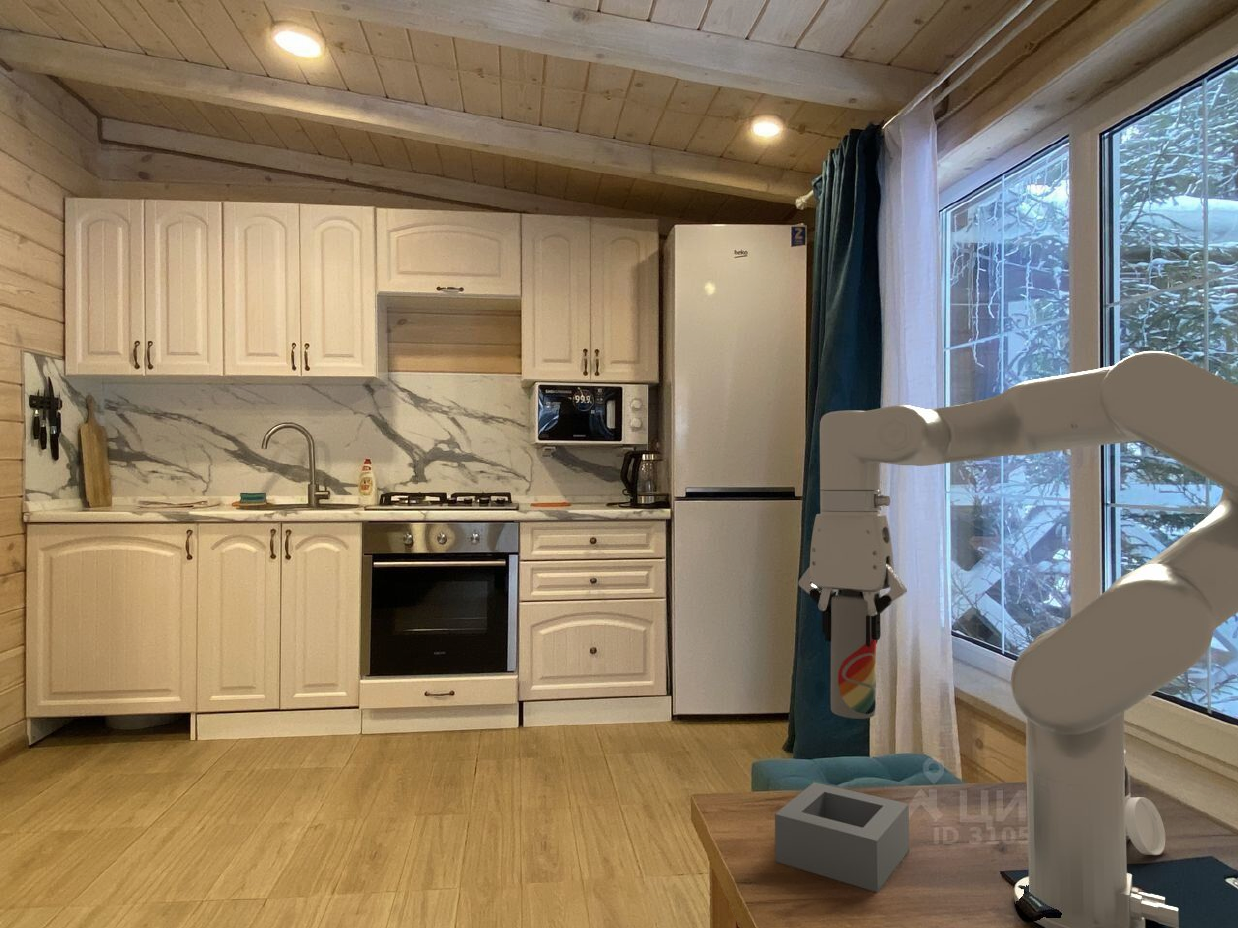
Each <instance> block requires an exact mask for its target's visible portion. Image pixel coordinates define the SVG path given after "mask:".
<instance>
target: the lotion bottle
mask: <svg viewBox="0 0 1238 928" xmlns="http://www.w3.org/2000/svg"><path fill="white" fill-rule="evenodd" d="M875 601H876V600H875ZM866 616H870V615H869V614H868V603H867V601H865V600H864V596H863V592H860V591H855V590H851V589H843V590H838V594H837V595H836V596H833V597H832V600H831V641H830V710H831V712H832V713H833V714H834V715H836V716H839V717H843V718H847V719H856V720H857V719H858V720H861V719H862V720H864V719H870V718H872V717H874V716H875V714H876V707H877V706H876V705H877V704H876V702H877V644H876V640H873V639H872V637H871V616H870V646H871V647H868V646H866Z"/></svg>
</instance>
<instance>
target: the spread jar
mask: <svg viewBox="0 0 1238 928" xmlns="http://www.w3.org/2000/svg"><path fill="white" fill-rule="evenodd" d="M1126 758H1127V751H1126V749H1124V762H1125V781H1124V783H1125V824H1126V842H1129V840H1130V842H1131V843H1132V844H1133V846H1134V847H1135V849H1136V850H1137V851H1139V852H1140V853H1141V854H1143V855H1146V856H1147V855H1148V856H1159V855H1161V854H1162V853H1163V851H1164V850H1165V848H1166V847H1165V846H1166V832H1165V825H1164V822H1163V820H1162V817H1161V815H1160V813H1159V810H1158V809H1157V807H1156V806H1155V804H1154V803H1153V802H1152V801H1151V800H1150V799H1149V798H1146V797H1144V796H1143V797H1138V796H1137V797H1131V777H1130V774H1129V770H1128V767H1127V765H1126V762H1127V759H1126Z"/></svg>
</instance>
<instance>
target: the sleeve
mask: <svg viewBox="0 0 1238 928" xmlns="http://www.w3.org/2000/svg"><path fill="white" fill-rule="evenodd" d="M909 805H910V804H909V803H906V802H902V801H899V800H893V799H889V798H886V797H880V796H876V795H873V794H872V795H871V794H868V793H864V792H858V791H854V790H851V789H845V788H841V787H837V786H832V785H828V784H824V783H820V782H815V781H814V782H812V783H811V784H809V785H808V786H807V787H806V788H805V789H804V790H802V792H800V793H799V794H797V795H796V796H795V797H794V798H792V799H791V800H790V801H789V802H787V803H786V804H785V805H784V806H783V807H781V808H780V809H779V810H778V811H776V813H774V842H775V843H774V848H775V850H774V852H775V860H774V861H775V862H776V863H778V864H783V865H786V866H789V867H792V868H795V869H799V870H802V871H806V872H810V873H812V874H815V875H818V876H822V877H825V878H829V879H832V880H835V881H838V882H842V883H845V884H849V885H850V886H855V887H858V888H862V889H864V890H867V891H872V892H874V893H879V891H881V889H882V887H883V886H884V884H885V883H886V882H887V880H889V878H890V877H891V876H892V874H893V873H894V871H895V870H896V869H897V868H898V866H899V865H900V863H901V862H902V861H903V859H905V856H906V855H907V854H908V853H909V851H910V814H909V813H910V808H909V807H910V806H909Z"/></svg>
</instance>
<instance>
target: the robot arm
mask: <svg viewBox="0 0 1238 928" xmlns="http://www.w3.org/2000/svg"><path fill="white" fill-rule="evenodd" d="M1139 441H1142V442H1144V443H1145V444H1147V445H1149V446H1151V447H1152V448H1154V449H1155V450H1157V451H1159V452H1161V453H1163V454H1164V455H1165V456H1168V458H1169V457H1170V458H1171V459H1173V460H1175V461H1177V462H1178V463H1180V464H1182V465H1183V466H1184V467H1185V466H1186V467H1187V468H1189V469H1190V470H1192V471H1194V472H1195V473H1198V474H1199V475H1201V476H1203V477H1204V478H1206V479H1208V480H1210V481H1211V482H1213V483H1215V484H1216V485H1218V486H1219V487H1221V488H1222V493H1221V497H1220V500H1219V501H1218V503H1217V505H1216V507H1214V509H1213V511H1212V512H1211V513H1210V514H1209V515H1207V516H1206V517H1205V518H1204V519H1202V520H1201V521H1200V522H1198V523H1197V524H1196V525H1194V526H1193V527H1192V528H1191V529H1190V530H1188V531H1187V532H1185V534H1184V535H1182V536H1181V537H1180V538H1179V539H1178V540H1176V541H1174V543H1172V544H1171V545H1169V546H1168V547H1166V548H1165V549H1164V550H1163V551H1161V552H1160V553H1158V554H1157V555H1156V556H1154V557H1152V558H1151V559H1150V560H1148V561H1147V562H1145V563H1144V564H1142V565H1141V566H1138V568H1136V569H1134V570H1131V571H1130V572H1128V573H1125V574H1124V575H1122V576H1120V577H1119V578H1118V579H1116V580H1115V581H1114V582H1113V583H1112V584H1111V585H1110V587H1109V588H1108V589H1106V590H1105V591H1104V592H1102V594H1100V595H1099V596H1097V597H1096V598H1095V599H1094V600H1092V601H1091V602H1089V603H1088V604H1087V605H1086V606H1084V607H1083V608H1082V609H1081V610H1079V611H1077V612H1076V613H1075V614H1073V615H1072V616H1071V617H1069V618H1068V619H1067V620H1065V621H1064V622H1062V624H1060V625H1058V626H1056V627H1053V628H1049V629H1048V630H1046V631H1044V632H1042V633H1040V634H1039V635H1037V636H1036V637H1035V638H1034V639H1033V640H1032V641H1031V642H1030V643H1028V645H1027V647H1026V648H1025V649H1024V650H1022V652H1021V653H1020V654H1019V656H1018V657H1017V659H1016V660H1015V663H1014V664H1013V667H1012V670H1011V676H1010V687H1011V689H1010V690H1011V692H1012V694H1011V695H1012V696H1013V699H1014V701H1015V704H1016V705H1017V707H1018V709H1019V710H1020V712H1021V713H1022V714H1023V715H1024V717H1026V722H1025V723H1026V730H1025V739H1026V743H1025V747H1026V749H1025V752H1026V764H1025V765H1026V808H1027V809H1026V810H1027V852H1028V853H1027V854H1028V855H1027V856H1028V876H1026V877H1023V878H1022V879H1020V880H1018V881H1017V882H1016V883H1015V885H1014V888H1013V899H1014V902H1015V903H1016V901H1019V899H1020V898H1021V897H1022V896H1023V894H1024V889H1021V888H1020V887H1021V886H1025V887H1026V885H1027V886H1028V885H1029V892H1030V893H1031V894H1032V895H1033V896H1034V897H1036V898H1038V899H1039V900H1041V901H1042V902H1043V903H1045V904H1046V905H1048V906H1050V907H1052V908H1054V909H1057V910H1059V911H1060V912H1061V913H1062V915H1061V918H1046V917H1043V918H1041V919H1040V920H1037V921H1034V923H1037V924H1038V925H1040V926H1042V927H1044V928H1146V920H1149V921H1152V922H1153V921H1154V922H1156V923H1158V924H1160V925H1165V926H1168V927H1170V928H1171V927H1172V928H1180V927H1179V923H1180V922H1179V921H1180V920H1179V908H1178V907H1176V906H1171V905H1168V904H1166V896H1163V895H1158V894H1155V893H1148V892H1145V891H1144V892H1143V891H1140V890H1139V887H1135V886H1133V874H1131V873H1128V870H1127V869H1128V868H1127V841H1126V824H1125V783H1124V781H1125V765H1126V763H1125V762H1124V750H1125V712H1126V711H1128V710H1129V709H1131V708H1133V707H1134V706H1135V705H1137V704H1139V703H1140V702H1142V701H1144V700H1145V699H1146V698H1147V697H1149V696H1151V695H1152V694H1154V693H1155V692H1157V691H1158V690H1160V689H1161V688H1163V687H1164V686H1166V685H1167V684H1169V683H1171V682H1172V681H1173V680H1175V679H1177V678H1178V677H1180V676H1182V675H1183V674H1184V673H1185V672H1186V671H1188V670H1189V669H1190V668H1192V667H1194V665H1195V664H1196V663H1197V662H1198V661H1199V660H1200V659H1201V658H1202V657H1203V656H1204V655H1205V654H1206V652H1207V651H1208V649H1209V648H1210V645H1211V643H1212V641H1213V636H1214V631H1215V630H1216V629H1217V628H1218V627H1220V626H1221V625H1223V624H1224V623H1225V622H1226V621H1228V620H1229V619H1231V618H1232V617H1233V616H1235V615H1237V614H1238V385H1236V384H1234V383H1233V382H1231V381H1228V380H1226V379H1224V378H1222V377H1220V376H1218V375H1217V374H1215V373H1212V372H1211V371H1208V370H1206V369H1205V368H1203V367H1201V366H1200V365H1198V364H1197V363H1196V364H1195V363H1194V362H1191V361H1190V360H1187V359H1185V358H1184V357H1182V356H1179V355H1177V354H1174V353H1170V352H1166V351H1159V350H1158V351H1155V350H1148V351H1141V352H1138V353H1134V354H1131V355H1130V356H1127V357H1124V358H1122V360H1120V361H1119V362H1117V363H1116V364H1115V365H1112V366H1108V367H1107V366H1106V367H1101V368H1100V367H1099V368H1097V369H1091V370H1086V371H1079V372H1075V373H1068V374H1061V375H1058V376H1057V375H1055V376H1050V377H1043V378H1038V379H1031V380H1026V381H1023V382H1019V383H1018V384H1015V385H1013V386H1011V387H1009V388H1008V389H1007V390H1004V391H1003V392H1001V393H999V394H998V395H997V394H996V395H995V396H992V397H989V398H985V399H981V400H977V401H973V402H968V403H963V404H956V405H949V406H944V407H939V408H938V407H937V408H931V409H925V408H922V407H916V406H912V405H909V404H897V405H896V404H895V405H890V406H886V407H881V408H875V409H870V410H869V409H868V410H858V409H857V410H855V409H854V410H852V409H851V410H849V409H847V410H837V411H835V410H834V411H830V412H827V413H825V414H823V416H821V419H820V422H819V476H820V477H819V478H820V479H819V490H820V491H819V493H820V494H819V497H820V500H819V501H820V503H819V504H820V508H819V509H820V513H817V514H816V515H815V518H814V523H813V528H812V535H811V543H810V557H809V559H810V560H809V567H808V568H807V569H806V570H805V572H804V573H803V574H802V576H801V577H800V579H799V580H798V582H797V584H798V586H799V587H800V588H801V589H802V590H803V591H805V592H806V593H807V594H809V597H810V598H811V599H812V600H813V601H814V603H816V604H817V606H818V609H819V611H821V615H822V616H821V618H822V619H821V621H822V623H821V624H822V625H821V626H822V627H821V628H822V633H823V634H824V641H825V642H829V643H831V600H832V597H833V596H836V595H839V590H843V589H851V590H855V591H860V592H863V596H864V600H865V601H867V603H868V614H869V615H870V616H871V637H872V639H873V640H876V645H877V643H878V641H879V640H880V639H881V637H882V636H881V635H882V634H881V629H882V627H881V614H882V613H884V611H885V610H886V609H887V608H888V607H889V606H890V605H891V604H892V603H893V602H895V601H897V600H899V599H900V598H901V597H903V596H905V594H907V592H908V590H907V587H906V586H905V585H904V583H903V582H902V581H901V580H900V578H899V576H898V575H897V573H896V572H895V567H894V566H895V565H894V554H893V547H892V537H891V532H890V531H891V530H890V526H889V521H888V517H887V514H880V511H882V508H883V507H889V506H890V505H891V498H890V496H889V495H884V494H882V491H881V490H880V463H881V464H888V465H889V464H890V465H898V466H915V467H919V466H920V467H927V466H934V465H935V466H937V465H943V464H952V463H957V462H958V463H959V462H967V461H968V462H969V461H974V460H981V459H982V460H983V459H991V458H997V457H1005V456H1009V457H1010V456H1020V457H1021V456H1029V455H1035V454H1041V453H1051V452H1059V451H1065V450H1074V449H1081V448H1082V449H1083V448H1089V447H1096V446H1104V445H1105V446H1106V445H1107V446H1108V445H1115V444H1125V443H1131V442H1139ZM885 589H890V590H889V591H887V593H885V594H883V595H881V590H885ZM875 600H876V601H875ZM870 616H866V646H868V647H871V646H870Z"/></svg>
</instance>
